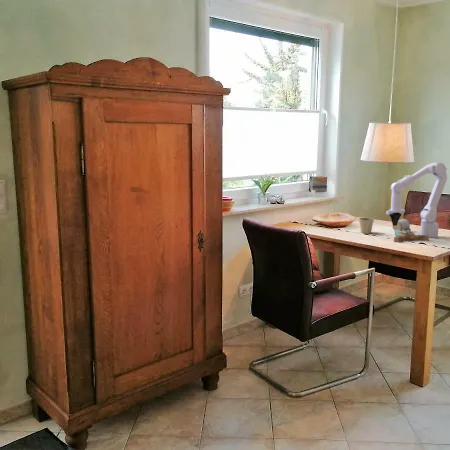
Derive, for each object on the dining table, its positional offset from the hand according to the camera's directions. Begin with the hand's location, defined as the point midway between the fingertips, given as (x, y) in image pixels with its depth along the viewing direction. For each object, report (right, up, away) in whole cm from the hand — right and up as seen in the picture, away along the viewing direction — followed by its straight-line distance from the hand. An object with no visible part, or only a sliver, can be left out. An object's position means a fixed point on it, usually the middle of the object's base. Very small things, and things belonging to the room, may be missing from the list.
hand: (394, 225), depth 293 cm
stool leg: (+4, -7, -1) cm, 8 cm away
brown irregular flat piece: (+6, -8, -8) cm, 13 cm away
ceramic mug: (+10, -4, +15) cm, 18 cm away
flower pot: (-14, -5, +12) cm, 19 cm away
